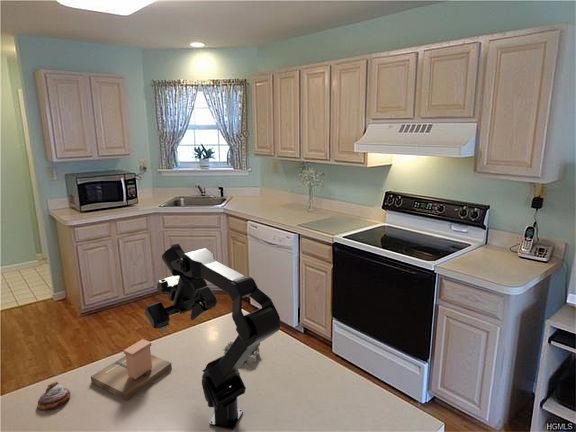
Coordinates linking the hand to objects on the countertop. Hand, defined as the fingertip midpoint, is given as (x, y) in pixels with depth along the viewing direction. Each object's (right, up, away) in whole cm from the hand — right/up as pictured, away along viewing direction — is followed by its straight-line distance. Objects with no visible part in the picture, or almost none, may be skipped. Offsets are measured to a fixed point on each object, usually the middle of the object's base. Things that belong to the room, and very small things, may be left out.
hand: (177, 325), depth 111 cm
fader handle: (-11, -14, +3) cm, 19 cm away
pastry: (-31, -19, -6) cm, 37 cm away
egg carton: (+17, -14, +14) cm, 26 cm away
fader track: (-14, -16, +5) cm, 22 cm away
